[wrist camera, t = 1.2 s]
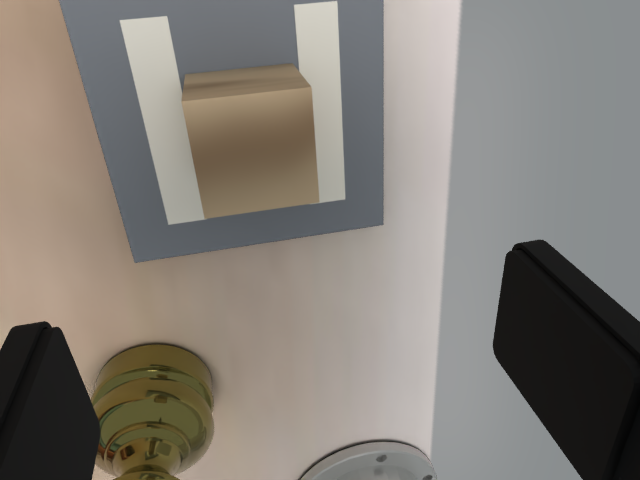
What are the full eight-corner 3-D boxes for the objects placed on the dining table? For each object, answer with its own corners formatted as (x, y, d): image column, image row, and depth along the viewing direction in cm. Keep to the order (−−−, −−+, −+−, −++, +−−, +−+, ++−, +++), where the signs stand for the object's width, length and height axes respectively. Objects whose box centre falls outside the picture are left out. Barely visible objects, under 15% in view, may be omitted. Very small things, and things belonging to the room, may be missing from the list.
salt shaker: (228, 353, 34) (237, 490, 25) (192, 431, 36) (189, 579, 28) (112, 329, 31) (77, 473, 22) (83, 416, 34) (42, 573, 25)
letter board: (377, 215, 31) (383, 225, 30) (137, 251, 29) (134, 263, 28) (375, -53, 24) (383, -54, 23) (57, -30, 22) (50, -29, 21)
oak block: (300, 162, 27) (319, 202, 22) (204, 175, 26) (204, 218, 22) (292, 63, 24) (311, 87, 20) (185, 74, 24) (181, 101, 19)
